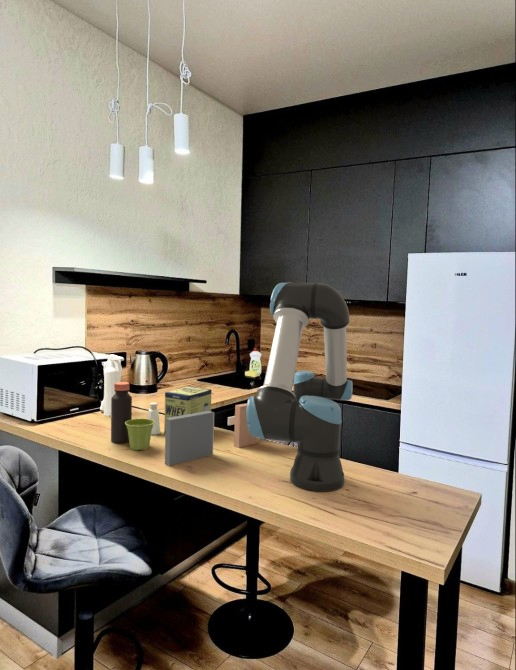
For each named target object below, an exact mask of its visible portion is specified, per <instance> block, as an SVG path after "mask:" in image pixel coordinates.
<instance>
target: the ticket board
mask: <svg viewBox="0 0 516 670" xmlns="http://www.w3.org/2000/svg"><path fill="white" fill-rule="evenodd" d="M214 429H215V412H214V411H212V410H211V411H205V412H199V413H193V414H187V415H181V416H176V417H170V418H166V430H165V436H164V437H165V438H164V439H165V441H164V442H165V443H164V445H165V446H164V464H165V466H168V465H169V466H168V467H171V466H170V465H173V466H174V465H176V464H177V465H178V464H180V463H185V462H189V461H193V460H197V459H201V458H204V457H208V456H213V455H214V436H215V435H214V431H215V430H214Z"/></svg>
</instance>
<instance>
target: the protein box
mask: <svg viewBox="0 0 516 670" xmlns="http://www.w3.org/2000/svg"><path fill="white" fill-rule="evenodd" d="M205 411H211V412H212V389H209V388H203V387H197V386H191V385H190V386H189V385H188V386H184V387H182V388H177V389H174V390H170V391H165V392H164V426H163V427H164V433H163V434H165V430H166V418H170V417H176V416H181V415H187V414H193V413H199V412H205Z"/></svg>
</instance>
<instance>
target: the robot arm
mask: <svg viewBox="0 0 516 670" xmlns="http://www.w3.org/2000/svg"><path fill="white" fill-rule="evenodd" d="M269 310H270V311H269V312H270V315H271V316H272V317H273V320H274V321H275V323H276V324H275V330H274V334H273V339H272V342H271V343H272V344H271V348H270V352H269V357H268V363H267V365H266V366H267V367H266V371H265V377H264V381H263V385H262V386H260V387H259V388H257V389H256V390H257V391H256V394H255V395H251V396H249V397H248V400H247V409H246V419H247V427H248V430H249V433H250V434H251V435H252V436H253V437H257V438H258V439H261V440H262V439H263V440H271V441H281V442H289V443H297V453H296V455H295V458H294V462H293V464H292V467H291V468H290V472H289V473H290V476H289V480H290V482H291V483H292V484H293V485H294V486H296V487H297V488H301V489H303V490H308V491H313V492H332V491H333V492H334V491H337V490H339V489H341V488H343V486H344V485H345V473H344V471H343V469H344V468H343V465H342V461H341V458H340V446H341V445H340V443H341V425H342V421H343V420H342V408H341V407H340V405H339V403H337V402H336V401H350V400H351V399H352V396H353V389H354V388H353V385H354V384H353V380H350V379H347V378H348V370H347V369H348V367H347V364H348V362H347V359H348V357H347V353H348V352H347V327H348V325H349V324H350V312H349V308H348V305H347V303H346V300H345V299H344V298H343V296H342V294H340V292H339V291H338V290H337V289H336V288H334V287H333V286H331V285H330V284H326V283H320V282H318V283H317V282H316V283H313V282H311V283H309V282H292V281H287V282H280V283H277V284H276V285H275V287H274V288H273V290H272V293H271V296H270V303H269ZM312 319H313V320H316V319H317V320H320V325H321V327H323V338H324V339H323V341H324V342H323V343H324V360H325V361H324V365H325V378H323V377H315V373H314V372H313V371H309V370H297V369H296V368H297V363H298V357H299V352H300V346H301V341H302V340H301V339H302V334H303V329H304V328H306V327H307V326H308V325H309V323H310V322H309V321H310V320H312ZM296 370H297V371H296ZM334 400H336V401H334ZM232 425H234V426H235V415H233V416H228V417H227V426H232Z"/></svg>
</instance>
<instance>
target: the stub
mask: <svg viewBox="0 0 516 670" xmlns="http://www.w3.org/2000/svg"><path fill="white" fill-rule="evenodd" d="M234 409H235V410H234V416H235V424H234V431H233V432H234V435H233V436H234V437H233V438H234V439H233V440H234V441H233V446H234V447H236V448H239V449H240V448H244V447H247V446H251V445H256V444H257V437H253V436H252V435H251V434H250V433H249V430H248V427H247V419H246V409H247V403H240V404H235V407H234Z"/></svg>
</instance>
